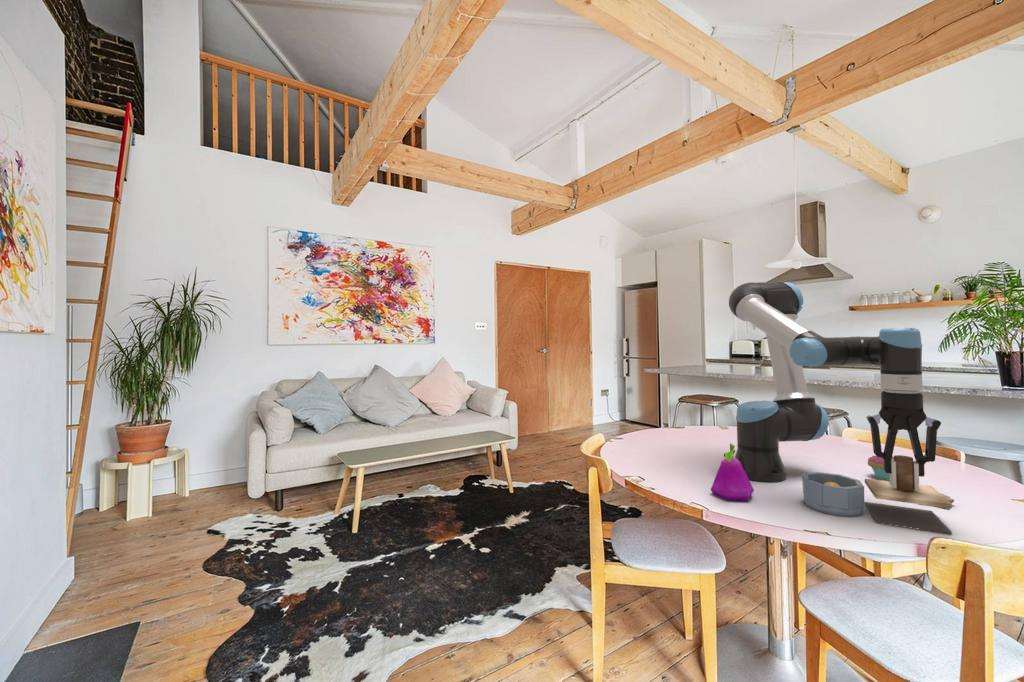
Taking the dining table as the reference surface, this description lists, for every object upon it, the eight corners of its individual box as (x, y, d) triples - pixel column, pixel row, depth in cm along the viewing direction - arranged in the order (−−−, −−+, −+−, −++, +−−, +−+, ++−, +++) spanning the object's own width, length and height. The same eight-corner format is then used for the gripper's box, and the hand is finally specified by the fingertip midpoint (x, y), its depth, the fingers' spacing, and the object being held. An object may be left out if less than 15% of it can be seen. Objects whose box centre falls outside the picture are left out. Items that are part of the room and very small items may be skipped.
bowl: (805, 510, 108) (804, 483, 108) (801, 495, 119) (801, 470, 119) (867, 520, 102) (867, 491, 102) (858, 502, 113) (857, 476, 113)
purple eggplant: (703, 490, 125) (702, 439, 125) (738, 488, 126) (737, 437, 126) (725, 504, 114) (724, 449, 114) (764, 502, 115) (762, 447, 115)
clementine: (822, 500, 110) (822, 483, 110) (820, 494, 114) (820, 478, 114) (844, 503, 108) (843, 486, 108) (841, 497, 111) (841, 481, 111)
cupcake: (890, 474, 135) (889, 436, 135) (912, 483, 126) (911, 442, 126) (861, 473, 136) (860, 436, 136) (881, 482, 127) (880, 443, 127)
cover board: (875, 498, 101) (874, 460, 101) (864, 482, 112) (863, 448, 112) (951, 508, 94) (950, 467, 94) (932, 490, 105) (930, 453, 105)
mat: (875, 522, 101) (875, 520, 101) (864, 503, 112) (864, 501, 112) (951, 534, 94) (951, 531, 94) (931, 513, 105) (931, 510, 105)
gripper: (861, 391, 104) (863, 487, 104) (954, 394, 96) (957, 498, 95) (855, 388, 110) (858, 478, 110) (942, 390, 102) (945, 488, 102)
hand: (904, 487), depth 103 cm, fingers closed on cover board, 3 cm apart
